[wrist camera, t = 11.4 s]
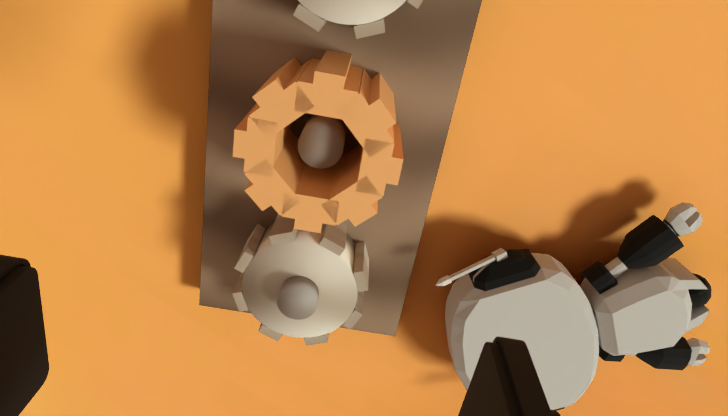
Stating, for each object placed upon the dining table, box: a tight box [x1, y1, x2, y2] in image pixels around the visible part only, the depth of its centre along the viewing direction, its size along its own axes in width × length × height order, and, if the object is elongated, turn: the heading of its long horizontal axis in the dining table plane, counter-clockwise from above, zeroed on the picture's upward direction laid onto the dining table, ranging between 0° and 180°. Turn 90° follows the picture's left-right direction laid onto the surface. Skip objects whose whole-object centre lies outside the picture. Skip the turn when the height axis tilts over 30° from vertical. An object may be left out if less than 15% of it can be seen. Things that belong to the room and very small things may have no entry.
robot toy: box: [435, 203, 711, 411], centre depth 30 cm, size 12×4×15 cm
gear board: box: [199, 0, 482, 346], centre depth 25 cm, size 25×12×6 cm, turn 170°
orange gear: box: [233, 50, 404, 233], centre depth 24 cm, size 7×7×5 cm
